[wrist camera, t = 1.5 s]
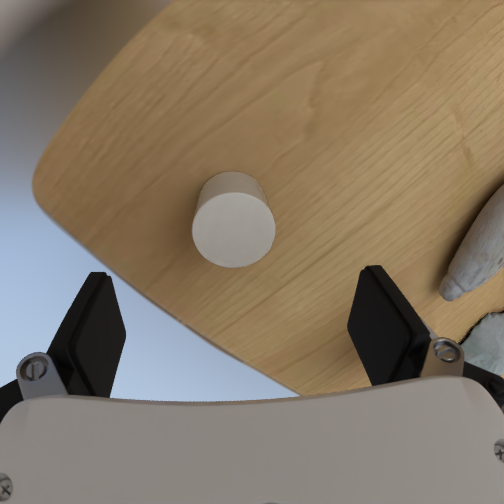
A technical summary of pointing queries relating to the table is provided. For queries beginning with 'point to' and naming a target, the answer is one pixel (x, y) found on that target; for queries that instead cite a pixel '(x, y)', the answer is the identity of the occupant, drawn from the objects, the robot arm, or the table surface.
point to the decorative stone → (477, 251)
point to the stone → (487, 344)
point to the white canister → (233, 220)
